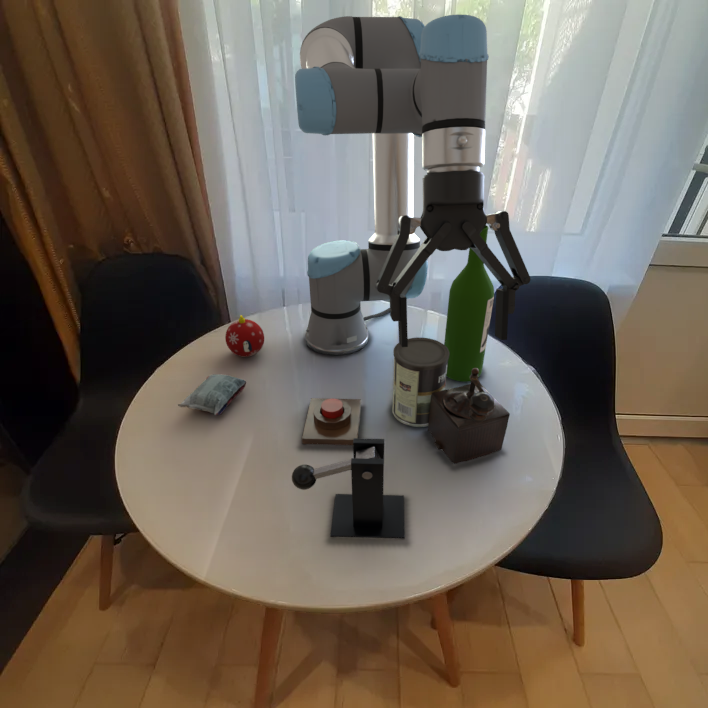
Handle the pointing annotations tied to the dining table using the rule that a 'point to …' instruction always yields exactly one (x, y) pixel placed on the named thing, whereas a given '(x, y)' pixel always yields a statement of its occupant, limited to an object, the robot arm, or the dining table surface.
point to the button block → (332, 424)
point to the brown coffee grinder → (467, 421)
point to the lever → (327, 469)
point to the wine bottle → (468, 318)
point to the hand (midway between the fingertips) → (452, 341)
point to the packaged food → (214, 393)
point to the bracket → (368, 500)
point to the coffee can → (417, 379)
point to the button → (332, 408)
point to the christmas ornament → (244, 337)
